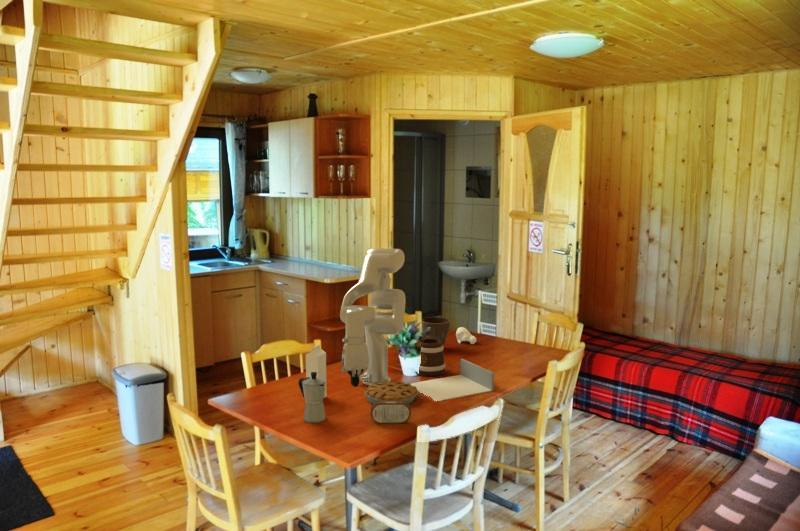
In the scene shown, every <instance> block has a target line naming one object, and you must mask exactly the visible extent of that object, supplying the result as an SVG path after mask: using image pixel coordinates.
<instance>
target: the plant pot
mask: <svg viewBox="0 0 800 531" xmlns="http://www.w3.org/2000/svg"><path fill="white" fill-rule="evenodd" d="M421 323H422V330H423V332H424V330H425V329H426V327H431V331H430V334H429V337H428V338H427V339H437V340H440V341H441V342H442V345H443V346H445V344H446V341H447V338H448V333H449V328H450V323H451V320H450V318H447V317H442V316H441V317H440V316H439V317H438V316H431V317H424V318H422V319H421Z"/></svg>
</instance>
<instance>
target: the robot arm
mask: <svg viewBox="0 0 800 531" xmlns="http://www.w3.org/2000/svg"><path fill="white" fill-rule="evenodd" d="M405 258H406V257H405V253H404V251H403V250H402V249H401V248H383V247H382V248H379V247H377V248H370V249H368V250H367V251H366V255H365V256H364V259H363V261H362V262H363V263H362V265H361V266H362V267H361V270H360V275H359V278H358V282H357V283H356V284H355V285H354V286H352V287H351V288H350V289H349V290H348V291H347V292H346V293H345V295H344V296H343V300H342V303H341V306H340V311H339V312H340V313H339V317H340V320H341V322H342V323H344V324H345V336H344V338H342V339H341V340H342V343H344V344H343V348H342V355H341V367H342V368H341V373H343V374H348V375H349V376H350V385H351V386H352V387H355V388H356V387H359V384H360V381H362V383H363V384H364V385H366V386H372V385H373V384H374V383H381V382H384V381H385V382H391V381H392V380H391V377H389V376H388V341H387V339H386V338H385V336H384V335H388V336H397V335H401V334H402V333H403V329H404V322H405V313H406V312H405V311H406V301H407V300H406V294H405V292H404V291H403V290H402V289H398V288H391V282H392V278H391V276H390V274H395V273H396V272H398V271H399V270H400V269H401V268H403V266H404V263H405ZM369 294H370V295H369ZM366 295H369V305H370V306H368V305H359V304H358V305H357V304H356V305H354V302H355V301H356V300H358V299H359V298H361V297H363V296H366ZM376 310H379V311H376ZM380 310H381V311H392V312H380Z"/></svg>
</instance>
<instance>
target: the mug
mask: <svg viewBox="0 0 800 531" xmlns="http://www.w3.org/2000/svg"><path fill="white" fill-rule="evenodd" d="M424 339H425V338H424ZM444 346H445V345H444ZM444 346H443V345H442V342H441V341H440V340H437V339H425V340H424V341H423V342H421V364H420V367H419V376H422V377H437V376H439V377H440V376H441V375H443V374H445V373H446V366H447V365H446V362H445V358H444V357H445V356H444V349H445V347H444Z"/></svg>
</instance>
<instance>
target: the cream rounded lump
mask: <svg viewBox="0 0 800 531" xmlns="http://www.w3.org/2000/svg"><path fill="white" fill-rule="evenodd" d="M455 336H456V337H455V338H456V340H457V342H458V344H461V343H462V342H463V341H464V342H469V343H470V345H475V343H476V342H477V337H476V336H474V335H472V334H471V332H470V331H469V330H468V329H467V328H466V327H463V326H461V327H458V328H457V329H456V333H455Z"/></svg>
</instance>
